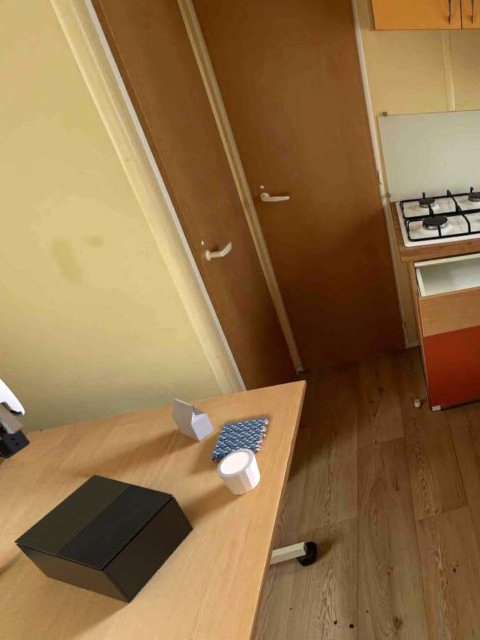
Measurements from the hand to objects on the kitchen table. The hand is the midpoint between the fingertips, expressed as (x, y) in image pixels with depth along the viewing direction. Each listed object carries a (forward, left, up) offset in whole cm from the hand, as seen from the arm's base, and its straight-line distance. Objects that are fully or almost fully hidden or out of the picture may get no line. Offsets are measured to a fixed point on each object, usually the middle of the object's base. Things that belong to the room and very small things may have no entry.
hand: (15, 450), depth 69 cm
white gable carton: (-2, +26, -27) cm, 38 cm away
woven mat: (+11, +26, -27) cm, 39 cm away
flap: (+3, 0, -16) cm, 16 cm away
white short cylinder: (+20, +17, -27) cm, 38 cm away
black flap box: (+8, 0, -27) cm, 28 cm away
